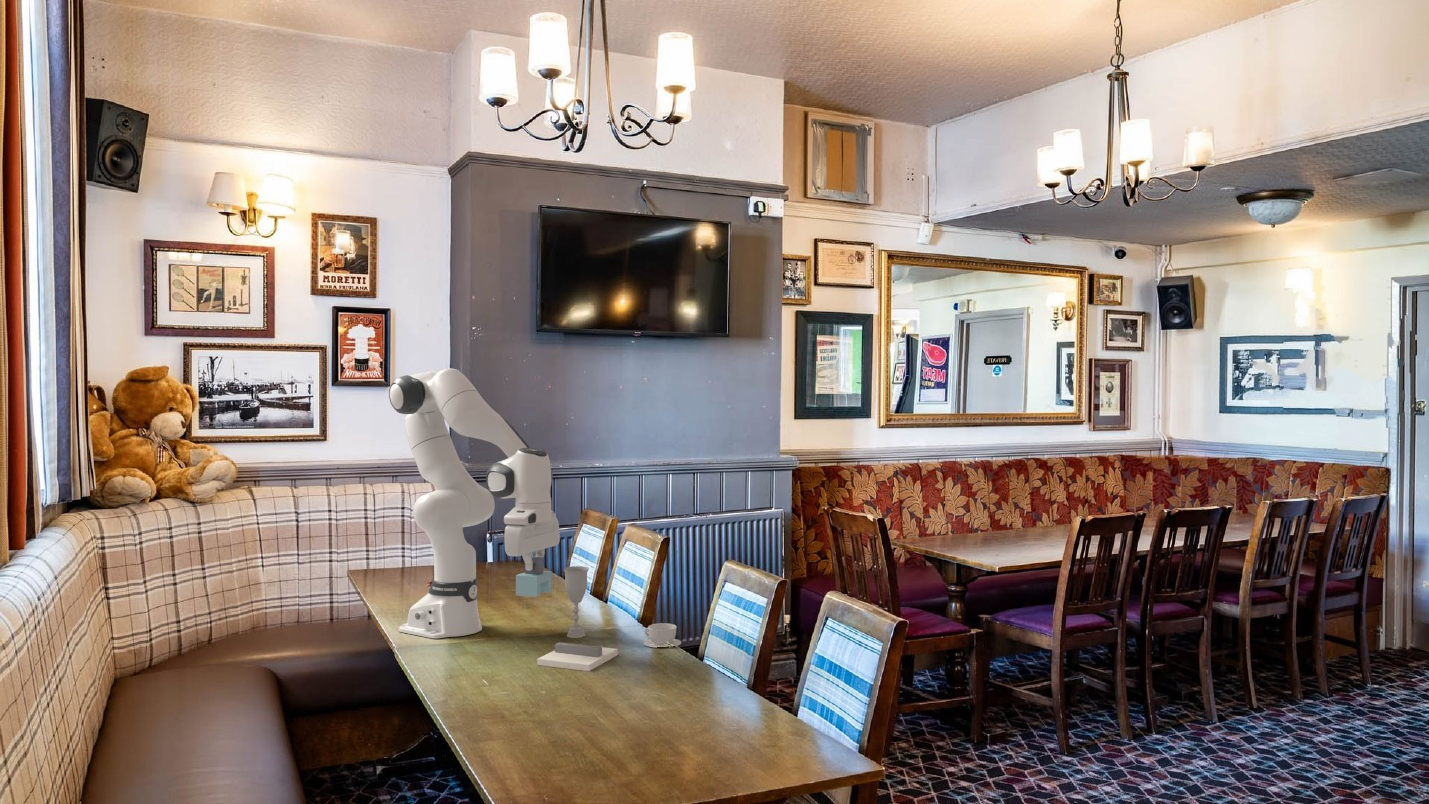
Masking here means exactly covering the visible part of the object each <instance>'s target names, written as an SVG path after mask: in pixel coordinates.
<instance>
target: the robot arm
mask: <svg viewBox="0 0 1429 804" xmlns="http://www.w3.org/2000/svg"><path fill="white" fill-rule="evenodd" d="M388 398H389V402H390V404H391V407H392V408H393V409H394V410H395V411H396V412H397V413H399V414H402V415H406V417H405V419H404V424H405V425H404V426H405V431H406V436H407V440H408V444H409V447H410V450H411V453H412V455H413V459H414V461H415V463H416V466H417V470H418V472H419V475H420V476H421V477H422V479H424V480H425V481H426V482H428V483H430V484H432V485H433V486H434V487H435V488H436V489H437V490H433V491H430V492H428V493H425V494H423V495H421V496H420V497H418V498H417V499H416V500H415V503H414V505H413V510H412V516H413V519H414V522H415V523H416V526H417V527H419V529H421V530H422V531H424V533H425V534H426V536H427V537H428V539H429V542H430V545H431V549H432V553H433V571H434V572H433V574H434V575H433V579H432V580H430V581H428V582H425V588H429V590H428V593H426V594H425V595H424V596H423V597H421V598H420V599H419V600H417V602H416V603H414V604H413V605H412V606H411V607H410V608H409V611H408V613H407V614H408V615H407V622H406V623H403V624H401V625H400V626H398V632H400V633H404V634H409V635H414V636H419V637H424V638H429V639H434V640H435V639H441V638H442V639H443V638H449V637H451V638H452V637H453V638H454V637H462V636H468V635H472V634H476V633H479V632H481V631H482V630H483V626H482V623H481V621H480V620H481V619H480V614H479V610H478V607H479V606H478V599H477V598H478V591H479V586H478V577H477V552H476V549H475V548H474V546H473V545H471V544H469V542H467V541H466V538H465V535H464V531H463V529H464V528H466V527H473V526H476V525H479V524H481V523H483V522H485V521H487V520H489V519H490V518H491V517H492V516H493V514H494V512H495V509H496V508H495V507H496V505H495V504H496V502H495V499H494V498H497V499H503V500H504V499H511V498H512V499H515V504H514V506H513V508H511V510H510V511H509V512H508V513H506V514H505V515H504V517H503V523H504V524H505V525H506V526H505V528H504V550H505V551H504V552H505V553H506V555H507V556H509V557H521V556H522V559H523V562H524V569H525V568H526V570H527V571H531V570H534V569H535V567H534V566H535V563H533V561H532V557H543V558H544V556H545V554H546V549H549V548H553V547H555V546H558V545H559V544H560V541H561V536H560V534H561V533H560V524H559V520H558V518H557V514H556V512H555V511H554V510H553V509H552V497H551V487H552V482H553V479H554V477H553V476H554V475H553V470H552V468H551V467H552V466H551V461H550V457H549V454H548V452H546V450H543V449H541V448H536V447H534V448H533V447H531V446H530V445H529V444H528V443H527V442H526V441H525V440H524V438H523V437H522V436H521V435H520V434H519V433H518V432H517V430H516V429H515V428H514V427H513V425H512V424H511V423H510V422H509V421H508V420H507V419H505V418H504V416H502V415H500V414H499V413H497V411H495V410H494V409H493V408H492V407H491V406H490V405H489V404H488V403H487V402H486V401H485V399H484V398H483V397H482V395H481V394H480V392H479V391H478V390H477V389H476V386H474V385H473V383H472V382H471V381H470V379H468V377H467V376H465V375H464V373H463V372H461V371H460V370H459V369H455V368H452V367H450V368H448V367H447V368H445V369H441V370H427V371H424V372H419V373H415V374H411V375H408V374H407V375H403V376H402V375H401V376H399V377H397V378H395V379H394V380H393V381H391V384H390V386H389V389H388ZM446 423H447V424H446ZM446 425H448V426H449V427H450V428H451V429H452V430H453V431H454V432H455V433H457V435H461V436H463V437H469V438H473V439H477V440H481V441H486V442H489V443H491V444H493V445H496V446H497V447H498V448H499V449H501V451H502V452H503V454H504V455H506V457H507V458H506V459H502V460H500V461H497V462H494V463H492V464H490V466H489V468H488V469H487V472H486V476H485V485H486V487H484V486H482V485H481V484H479V483H478V482H477V481H476V480H475V479H474V478H473V477H472V476H471V475H470V473H469V472H468V470H466V467H465V466H464V465H463V463H462V462H461V459H460V458H459V455H458V453H457V450H456V447H455V445H454V443H453V440H452V438H451V435H450V432H449V429H448V428H447V426H446ZM533 554H535V556H533Z"/></svg>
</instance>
